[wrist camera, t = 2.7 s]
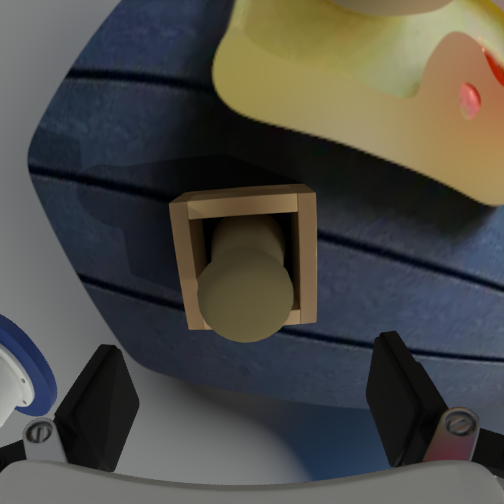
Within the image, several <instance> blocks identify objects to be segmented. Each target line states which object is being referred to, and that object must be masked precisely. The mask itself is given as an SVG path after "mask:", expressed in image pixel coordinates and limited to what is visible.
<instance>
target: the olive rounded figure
mask: <svg viewBox="0 0 504 504" xmlns="http://www.w3.org/2000/svg"><path fill="white" fill-rule="evenodd" d="M284 255H285V236H284V233H283V231H282V228H281V226H280V225H279V224H278V222H277V221H276V220H275V219H274V218H273V217H272V216H270V215H269V214H253V215H239V216H225V217H224V218H223V219H221V220H220V221H219V223H218V225H217V226H216V228H215V229H214V232H213V236H212V241H211V263H209V264H208V266H207V268H206V269H205V271H204V273H203V274H202V276H201V278H200V281H199V285H198V290H197V298H198V304H199V310H200V313H201V315H202V317H203V318H204V320H205V322H206V324H207V325H209V326H210V327H211V328H212V329H213V330H214V331H215V332H216V333H217V334H219V335H221V336H223V337H225V338H227V339H229V340H233V341H237V342H255V341H258V340H261V339H264V338H267V337H269V336H270V335H272V334H273V333H275V332H276V331H278V330H279V329H280V328H281V327H282V326H283V324H284V323H285V322H286V320H287V319H288V317H289V314H290V311H291V308H292V305H293V286H292V283H291V280H290V277H289V275H288V272H287V270H286V269H285V268H284V267H283V263H284Z"/></svg>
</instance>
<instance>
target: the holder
mask: <svg viewBox="0 0 504 504" xmlns="http://www.w3.org/2000/svg"><path fill="white" fill-rule="evenodd" d="M169 210H170V217H171V225H172V232H173V239H174V246H175V252H176V259H177V265H178V272H179V278H180V284H181V289H182V295H183V301H184V306H185V312H186V317H187V322H188V328H189V330H197V329H212V328H211V327H210V326H209V325H207V324H206V322H205V320H204V318H203V317H202V315H201V313H200V310H199V304H198V298H197V290H198V285H199V281H200V278H201V276H202V274H203V273H204V271H205V269H206V268H207V266H208V263H207V256H206V247H205V239H204V231H203V222H202V218H213V217H225V216H239V215H253V214H267V213H283V212H290V218H291V242H292V272H293V282H291V283H292V286H293V305H292V308H291V311H290V314H289V317H288V319H287V320H286V322H285V323H284V324H283V325H292V324H300V323H301V324H303V323H314V322H316V320H317V220H316V193H315V192H314V191H313V190H311V189H310V188H309V187H307V186H306V185H305V184H289V185H288V184H286V185H269V186H254V187H241V188H228V189H216V190H205V191H195V192H185V193H184V194H182V195H181V196H179V197H178V198H176V199H175V200H173V201H172V202H170V203H169Z"/></svg>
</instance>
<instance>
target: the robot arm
mask: <svg viewBox="0 0 504 504" xmlns="http://www.w3.org/2000/svg"><path fill="white" fill-rule="evenodd" d="M34 396H35V392H34V387H33V384H32V381H31V379H30V377H29V375H28V373H27V372H26V370H25V369H24V367H23V366H22V364H21V363H20V362H19V360H18V359H17V358H16V357H15V356H14V355H13V354H12V353H11V352H10V351H9V350H8V349H7V348H6V347H5V346H4V345H3V344H1V343H0V428H1V426H2V425H3V424H4V422H5V421H6V419H7V418H8V416H9V415H10V414H11V412H12V411H13V410H14V408H15V407H16V406H20V407H26V406H29V405H30V404H31V402H32V401H33V399H34ZM366 399H367V402H368V405H369V407H370V410H371V413H372V416H373V418H374V421H375V424H376V426H377V429H378V432H379V435H380V438H381V441H382V444H383V447H384V450H385V453H386V456H387V458H388V462H389V464H390V466H391V467H394V466H395V468H392V469H387V470H383V471H378V472H373V473H367V474H361V475H356V476H349V477H343V478H336V479H329V480H322V481H313V482H303V483H290V484H274V485H208V484H192V483H180V482H170V481H160V480H153V479H146V478H139V477H133V476H127V475H122V474H116V473H111V472H114V470H115V468H116V466H117V463H118V460H119V458H120V455H121V452H122V450H123V447H124V445H125V442H126V439H127V437H128V434H129V431H130V429H131V426H132V424H133V421H134V419H135V416H136V414H137V411H138V408H139V398H138V396H137V393H136V391H135V388H134V385H133V383H132V380H131V377H130V375H129V372H128V369H127V367H126V363H125V361H124V358H123V355H122V352H121V350H120V349H117V347H116V346H115V345H106V344H101V345H100V346H99V347H98V349H97V350H96V352H95V353H94V354H93V356H92V357H91V359H90V360H89V362H88V363H87V365H86V366H85V368H84V369H83V371H82V372H81V374H80V375H79V376H78V378H77V380H76V381H75V383H74V384H73V386H72V387H71V389H70V390H69V392H68V393H67V395H66V396H65V398H64V400H63V401H62V403H61V404H60V406H59V407H58V409H57V411H56V412H55V414H54V415H55V418H54V420H53V421H52V420H51V419H48V418H37V419H34V420H32V421H31V422H29V423H28V424H27V425H26V427H25V428H24V430H23V439H22V440H20V441H17V442H15V443H12V444H9V445H7V446H4V447H1V448H0V504H504V435H502V434H498V433H495V432H492V431H489V430H485V429H482V428H480V420H479V418H478V416H477V415H476V413H474V412H473V411H472V410H470V409H467V408H465V407H453V408H451V409H449V408H448V407H447V405H446V403H445V402H444V400H443V398H442V397H441V395H440V393H439V392H438V390H437V389H436V387H435V385H434V384H433V382H432V380H431V379H430V377H429V376H428V374H427V372H426V371H425V369H424V368H423V366H422V365H421V364H420V363H419V362H416V361H415V359H414V358H413V356H412V355H411V353H410V351H409V350H408V348H407V347H406V345H405V344H404V342H403V341H402V339H401V337H400V336H399V334H398V333H397V332H396V331H389V332H382V333H380V335H379V337H376V338H375V341H374V347H373V354H372V360H371V366H370V372H369V377H368V383H367V388H366Z"/></svg>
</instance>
